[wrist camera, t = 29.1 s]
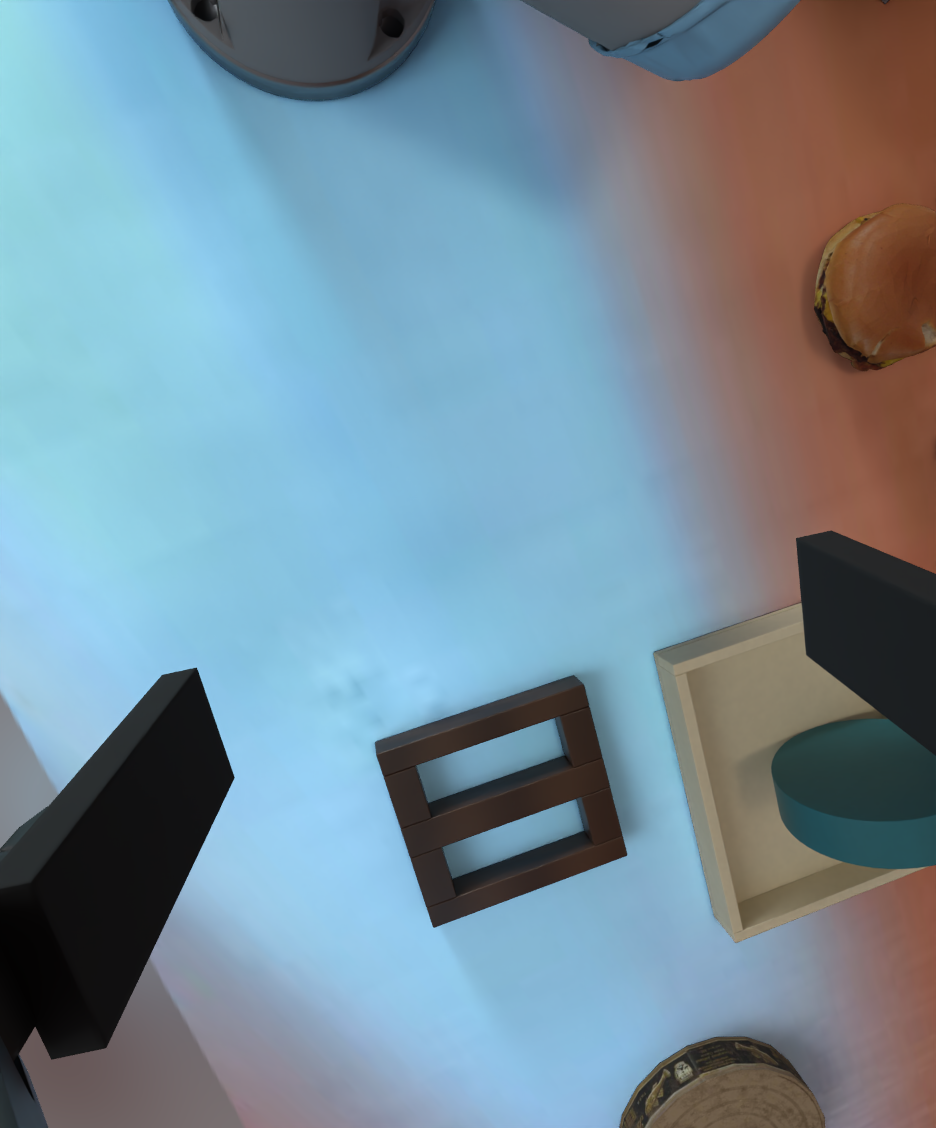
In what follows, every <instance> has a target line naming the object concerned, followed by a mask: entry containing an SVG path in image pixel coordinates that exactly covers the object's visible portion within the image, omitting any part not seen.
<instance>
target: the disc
mask: <svg viewBox="0 0 936 1128" xmlns="http://www.w3.org/2000/svg"><path fill="white" fill-rule="evenodd" d="M771 773H772V778H773V783H774V788H775V793H776V798H777V803H778V808H779V813H780V816H781V819H782V821H783V823H784V825H785V827H786V828H787V829H788V830H789V832H790V833H791V834H792V835H793V836H794V837H795V838H796V839H797V840H799V841H800V842H801V843H803V844H804V845H806V846H807V847H809V848H811V849H812V850H814V851H816V852H818V853H820V854H822V855H825V856H827V857H830V858H832V859H835V860H839V861H842V862H845V863H849V864H854V865H858V866H864V867H871V868H882V869H911V868H921V867H927V866H933V865H936V756H935V755H934V754H933V753H931V752H930V751H929V750H927V749H926V748H925V747H924V746H922V745H921V744H920V743H918V742H917V741H916V740H915V739H913V738H912V737H911V736H909V735H908V734H907V733H906V732H904V731H903V730H902V729H900V728H899V727H898V726H897V725H895V724H894V723H893V722H891V721H890V720H889V719H855V720H846V721H839V722H834V723H828V724H825V725H821V726H817V727H814V728H812V729H809V730H806V731H804V732H802V733H800V734H798V735H796V736H794V737H793V738H791V739H790V740H788V741H787V742H785V743H784V744H783V745H782V746H781V747H780V748H779V749H778V751H777V752H776V754H775V755H774V758H773V760H772V765H771Z"/></svg>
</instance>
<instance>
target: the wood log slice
mask: <svg viewBox="0 0 936 1128" xmlns="http://www.w3.org/2000/svg"><path fill="white" fill-rule="evenodd" d="M620 1128H825V1117H824V1115H823V1113H822V1111H821V1109H820V1107H819V1105H818V1103H817V1101H816V1099H815V1097H814V1095H813V1093H812V1092H811V1090H810V1089H809V1088H808V1086H807V1085H806V1083H805V1082H804V1081H803V1079H802V1078H801V1077H800V1075H799V1074H798V1073H797V1071H796V1070H795V1068H794V1067H793V1066H792V1064H791V1063H790V1062H789V1060H787V1059H786V1058H785V1057H784V1056H783V1055H781V1054H780V1053H779V1052H778V1051H777V1050H776V1049H774V1048H773V1047H772V1046H771V1045H769V1044H766V1043H763V1042H760V1041H757V1040H753V1039H750V1038H747V1037H716V1038H712V1039H709V1040H706V1041H703V1042H699V1043H696V1044H693V1045H690V1046H687V1047H685V1048H684V1049H682V1050H680V1051H679V1052H677V1053H676V1054H674V1055H672V1056H671V1057H669V1058H668V1059H666V1060H664V1061H663V1062H661V1063H660V1064H658V1066H657V1067H656V1068H655V1069H654V1070H653V1071H652V1072H651V1073H650V1074H649V1075H648V1076H647V1077H646V1078H645V1079H644V1080H643V1081H642V1082H641V1083H640V1084H639V1086H638V1087H637V1088H636V1090H635V1092H634V1094H633V1095H632V1097H631V1099H630V1101H629V1103H628V1105H627V1106H626V1108H625V1110H624V1112H623V1114H622V1118H621V1123H620Z"/></svg>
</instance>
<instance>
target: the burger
mask: <svg viewBox="0 0 936 1128" xmlns="http://www.w3.org/2000/svg"><path fill="white" fill-rule="evenodd" d="M814 302H815V304H814V311H815V313H816V316H817V318H818V321H819V322H820V324H821V326H822V328H823V332H824V333H825V334H826V336H827V338H828V340H829V342H830V345H831V346H832V349H833V350H834V352H835V353H839V354H840V355H841V356H843V357H845V358H847V359H849V360H851V361H852V362H851V364H852V366H853V367H854V368H856V369H858V370H861V371H867V370H868V369H872V370H879V369H882V368H885V367H887V366H889V365H892V364H893V363H895V362H897V361H899V360H901V359H903V358H905V357H909V356H913V355H916V354H919V353H922V352H924V351H926V350H928V349H930V348H932V347H934V346H936V212H934V211H933V210H931V209H929V208H927V207H924V206H918V205H911V204H904V203H902V204H896V205H892V206H890V207H888V208H886V209H884V210H883V211H880V212H876V213H873V214H868V215H866V216H862V217H858V218H857V219H855V220H853V221H852V222H850V223H849V224H847V225H846V226H845V227H844V228H842V229H841V230H840V231H839V232H837V233H836V234H835V235H834V236H833V237H832V238H831V239H830V240H829V242H828V243H827V245H826V248H825V250H824V253H823V256H822V260H821V262H820V266H819V270H818V274H817V281H816V287H815V301H814Z"/></svg>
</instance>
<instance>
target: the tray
mask: <svg viewBox="0 0 936 1128" xmlns="http://www.w3.org/2000/svg"><path fill="white" fill-rule="evenodd" d="M653 654H654V658H655V662H656V667H657V671H658V675H659V680H660V684H661V688H662V693H663V697H664V701H665V706H666V710H667V714H668V719H669V723H670V727H671V732H672V736H673V740H674V744H675V749H676V753H677V757H678V762H679V766H680V770H681V775H682V779H683V783H684V788H685V792H686V796H687V801H688V805H689V809H690V814H691V818H692V822H693V827H694V831H695V835H696V840H697V844H698V848H699V853H700V857H701V861H702V866H703V870H704V874H705V879H706V883H707V887H708V892H709V896H710V900H711V905H712V909H713V913H714V917H715V918H716V919H717V920H718V922H719V923H720V924H721V925H722V927H723V928H724V929H725V930H726V932H727V933H728V934H729V936H730V937H731V938H732V939H733V941H734V942H735V943H737V942H740V941H742V940H745V939H747V938H750V937H752V936H755V935H757V934H760V933H762V932H765V931H767V930H770V929H772V928H775V927H777V926H780V925H783V924H785V923H788V922H790V921H793V920H795V919H798V918H800V917H803V916H805V915H808V914H810V913H813V912H815V911H818V910H820V909H823V908H825V907H828V906H830V905H833V904H835V903H838V902H840V901H843V900H845V899H848V898H850V897H853V896H855V895H858V894H861V893H863V892H866V891H868V890H871V889H873V888H876V887H878V886H881V885H883V884H886V883H888V882H891V881H893V880H896V879H898V878H901V877H903V876H906V875H908V874H911V873H913V872H916V871H918V870H921V869H923V868H926V867H921V868H911V869H882V868H871V867H864V866H858V865H854V864H849V863H845V862H842V861H839V860H835V859H832V858H830V857H827V856H825V855H822V854H820V853H818V852H816V851H814V850H812V849H811V848H809V847H807V846H806V845H804V844H803V843H801V842H800V841H799V840H797V839H796V838H795V837H794V836H793V835H792V834H791V833H790V832H789V830H788V829H787V828H786V827H785V825H784V823H783V821H782V819H781V816H780V813H779V808H778V803H777V798H776V793H775V788H774V783H773V778H772V773H771V765H772V760H773V758H774V755H775V754H776V752H777V751H778V749H779V748H780V747H781V746H782V745H783V744H784V743H785V742H787V741H788V740H790V739H791V738H793V737H794V736H796V735H798V734H800V733H802V732H804V731H806V730H809V729H812V728H814V727H817V726H821V725H825V724H828V723H834V722H839V721H846V720H855V719H888V718H886V717H885V716H884V715H882V714H881V713H880V712H879V711H877V710H876V709H875V708H873V707H872V706H871V705H869V704H868V703H867V702H866V701H864V700H863V699H862V698H860V697H859V696H858V695H857V694H855V693H854V692H853V691H851V690H850V689H849V688H848V687H846V686H845V685H844V684H842V683H841V682H840V681H839V680H837V679H836V678H835V677H833V676H832V675H831V674H830V673H828V672H827V671H826V670H824V669H823V668H822V667H821V666H819V665H818V664H817V663H815V662H814V661H813V660H812V659H810V658H809V657H808V656H806V649H805V637H804V625H803V613H802V603H799V604H796V605H793V606H790V607H787V608H784V609H781V610H778V611H775V612H772V613H769V614H766V615H763V616H760V617H757V618H754V619H751V620H748V621H745V622H742V623H739V624H736V625H733V626H730V627H727V628H725V629H722V630H719V631H716V632H713V633H710V634H707V635H704V636H701V637H698V638H695V639H692V640H689V641H686V642H683V643H680V644H677V645H674V646H671V647H668V648H665V649H662V650H659V651H656V652H654V653H653ZM927 867H928V866H927Z"/></svg>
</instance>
